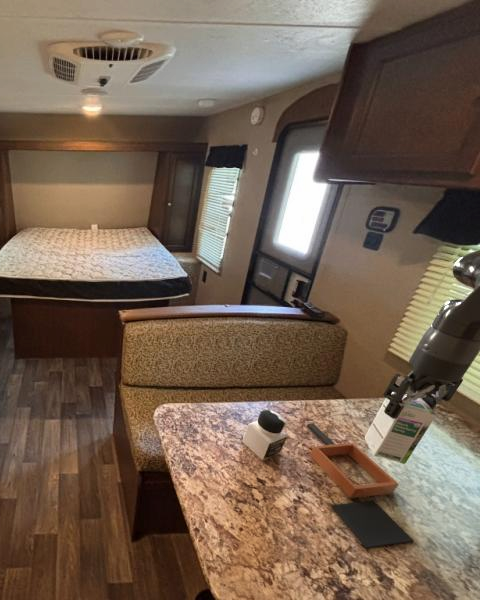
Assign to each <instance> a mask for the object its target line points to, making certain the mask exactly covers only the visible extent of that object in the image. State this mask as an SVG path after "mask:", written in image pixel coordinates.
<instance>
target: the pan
mask: <svg viewBox="0 0 480 600" xmlns="http://www.w3.org/2000/svg"><path fill="white" fill-rule="evenodd" d="M306 428H307V429H308V430H309V431H310V432H311V433H312V434H313V435H314V436H315V437H316V438H317V439H318V440H319V441H320V442H321V443H322V444H323V445H314V446H313V448H312V450H311V451H310V453H309V456H310V457H311V458H312V459H313V460H314V461H315V463H316V464H317V465H318V466H319V467H320V468H321V469H322V470H323V471H324V472H325V474H327V476H328V477H329V478H330V479H331V480H332V481H333V482H334V483H335V484H336V485H337V486H338V487H339V489H341V491H342V492H343V493H344V494H345V495H346V496H347V497H348V498H349V499H357V498H365V497H374V496H382V495H390V494H394V492H395V491H396V489H397V488H398V487H399V483H398V482H397V481H396V480H395V479H394V478H393V477H391V475H390V474H388V473H387V472H386V471H385V470H384V469H383V468H382V467H381V466H379V465H378V463H376V462H375V461H374V460H373V459H372V458H371V457H369V456H368V455H367V454H366V453H365V452H364V451H363V450H361V449H360V448H359V447H358V446H357V444H355V443H354V442H346V443H345V442H344V443H335V442H334V441H333V440H332V439H331V438H329V437H328V435H326V434H325V433H324V432H323V431H322V430H321V429H320V428H319V427H318V426H317V425H316V424H315V423H313V422H312V423H311V422H310V423H307V424H306ZM340 455H341V456H342V455H348V456H350V458H352V459H353V461H355V462H356V463H357V464H358V465H359V466H360V467H361V468H362V469H363V470H364V471H365V472H366V473H368V474H369V476H371V477H372V478H373V480H375V481H376V482H377V483H370V484H361V485H355V484H354V483H353V481H351V480H350V479H349V478H348V477H347V475H345V474H344V472H342V471H341V469H340V468H339V467H338V466H337V465H336V464H335V463H334V462H333V461H332V460H331V459H330V458H329V456H340Z"/></svg>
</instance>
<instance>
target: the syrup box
mask: <svg viewBox="0 0 480 600" xmlns="http://www.w3.org/2000/svg"><path fill="white" fill-rule="evenodd" d="M392 393H394V391H393V392H392ZM405 397H406V395H404V396H403V398H402V399H404V398H405ZM389 402H390V400H388V399H387V398H386V397H385V398H384V401H383V402H382V405H381V406H380V408H379V410H378V412H377V414H376V416H374V419H373V421H372V423H371V425H370V427H369V428H368V430H367V432H366V434H365V436H364V439H365V442H366V444H367V445H368V447H369V449H370V451H371V453H372V455H373V456H374V457H377V458H378V457H379V458H383V459H386V460H390V461H393V462H396V463H400V464H402V465H406V464H407V462H408V461H409V459H410V457H411V456H412V454H413V453H414V451H415V449H416V448H417V447H418V445H419V443H420V442H421V440H422V438H423V437H424V435H425V434H426V432H427V431H428V430H429V428H430V426H431V424H432V423H433V421H434V420H435V418H436V416H437V414H436V412H435V411H434V409H433V410H432V409H431V408H430V407H429V405H428V404H427V403H425V402H424V401H423V400H422V397H420V398H418V399H417V400H411V401H410V402H408V403H407V404H406V405H404V408H403V409H402V411H401V413H400V414H399V416H398V418H395V419H393V418H391V417H389V416H388V415H387V414H385V412H384V410H385V408H386V407H387V405H388V403H389Z"/></svg>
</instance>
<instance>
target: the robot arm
mask: <svg viewBox="0 0 480 600" xmlns="http://www.w3.org/2000/svg"><path fill="white" fill-rule="evenodd" d="M452 275H453V278H455V280H456V281H457V282H459V283H460V284H462V285H464V286H466V287H468V288H470V289H473V290H472V292H470V294H469V295H468V296H466V297H465V298H464V299H459V298H457V299H450V300H448V301H446V302H445V303H444V304H443V305H442V306H441V308H440V310H439V311H438V313H437V315H436V316H435V318H434V319H433V322H432V323H431V324H430V326H429V327H428V329H427V330H426V331H425V332H424V333H423V335H422V336H421V339H420V340H419V342H418V344H417V345H416V348H415V350H414V351H413V353H412V355H411V356H410V358H409V359H408V364H409V365H410V367H411V371H410V372H409V373H408V374H406V376H403V375H402V374H400V373H396V374H394V375H393V377H392V378H391V380H390V382H389V384H388V386H387V387H386V388H385V391H384V393H383V394H382V396H383V397H384V398H385V399H386V398H387V399H388V400H390V402H389V403H388V405H387V407H386V408H385V410H384V412H385V414H387V415H388V416H389V417H391V418H393V419H395V418H398V416H399V414H400V413H401V411H402V409H403V408H404V405H406V404H407V403H408V402H410V401H411V400H417V399H418V398H421V399H422V400H423V401H424V402H425V403H427V404H428V405H429V407H430V408H431V409H432V410H433V411H434V410H435V407H436V406H437V405H440V404H442V402H443V401H444V402H449V401H451V400H452V398H453V397H454V395H455V393H457V391H458V389H459V387H460V386H461V384H462V383H463V382H464V379H463V377H464V376H465V374H466V373H467V372H468V370H469V369H470V367H471V366H472V364H473V363H474V361H475V360H476V358H477V357H478V355H479V353H480V249H479V250H475V251H473V252H469V253H466V254H465V255H463V256H462V257H460V258H458V260H457V261H456V262H455V263H454V264H453V267H452ZM445 391H446V392H445ZM392 392H394V393H392ZM411 392H412V393H411ZM404 395H406V397H405V398H404V399H402V398H403V396H404ZM422 396H424V397H422Z"/></svg>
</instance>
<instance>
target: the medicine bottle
mask: <svg viewBox="0 0 480 600" xmlns="http://www.w3.org/2000/svg"><path fill="white" fill-rule="evenodd" d="M285 425H286V420H285V419H284V418H283V416H282V415H281V414H279V413H278V412H276V411H273V410H270V409H264V410H261V411H260V413H259V415H258V418H257V420H255V421H252V422H250V423H248V424H247V426H246V430H245V433H244V435H243V438H242V443H243V444H244V445H245V446H246V447H247V448H248V449H249V450H251V451H252V453H254V454H255V455H256V456H257V457H258V458H259V459H260V460H261V461H262V462H263V461H267V460H268V459H271V458H272V457H275V456H277V455H279V454H281V452H282V449H283V447H284V445H285V443H286V441H287V438H288V434H287V433H286V432H285V431H283V430H284V427H285Z"/></svg>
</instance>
